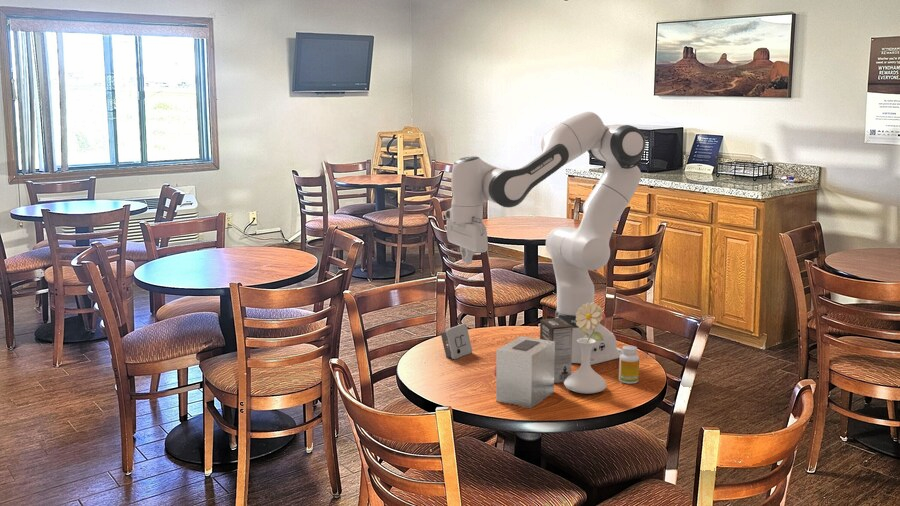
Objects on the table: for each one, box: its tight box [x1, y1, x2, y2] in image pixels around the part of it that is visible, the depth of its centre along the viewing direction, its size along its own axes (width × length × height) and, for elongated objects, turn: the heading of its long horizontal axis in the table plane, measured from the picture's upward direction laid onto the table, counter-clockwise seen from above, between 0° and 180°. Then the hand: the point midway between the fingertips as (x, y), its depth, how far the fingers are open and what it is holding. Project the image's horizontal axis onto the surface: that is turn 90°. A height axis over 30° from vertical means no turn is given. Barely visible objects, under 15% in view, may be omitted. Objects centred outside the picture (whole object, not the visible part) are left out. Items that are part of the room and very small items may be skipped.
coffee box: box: [539, 317, 573, 384], centre depth 233 cm, size 9×6×16 cm
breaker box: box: [495, 335, 555, 409], centre depth 219 cm, size 10×14×14 cm
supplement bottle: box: [618, 344, 640, 385], centre depth 231 cm, size 5×5×10 cm
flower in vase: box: [563, 301, 608, 395], centre depth 222 cm, size 13×11×25 cm
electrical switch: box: [440, 323, 473, 360], centre depth 255 cm, size 9×5×9 cm, turn 141°
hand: (467, 262), depth 238 cm, fingers closed
